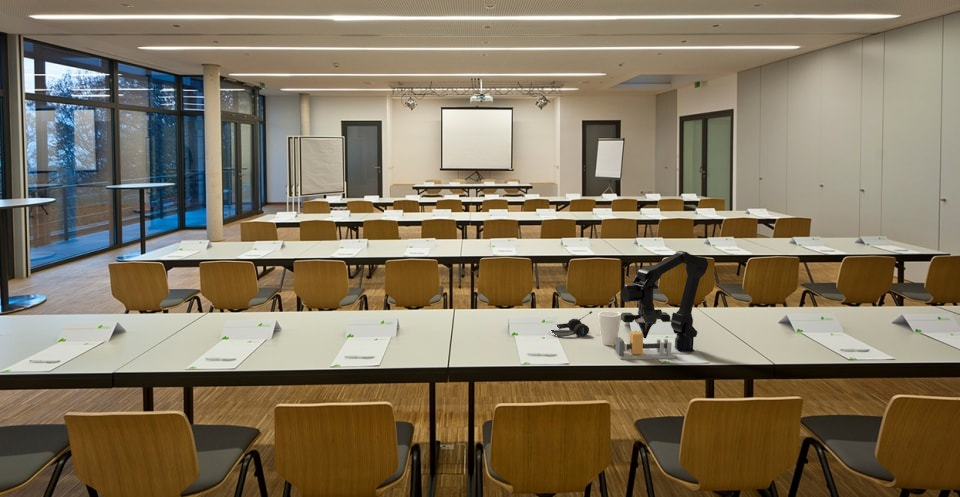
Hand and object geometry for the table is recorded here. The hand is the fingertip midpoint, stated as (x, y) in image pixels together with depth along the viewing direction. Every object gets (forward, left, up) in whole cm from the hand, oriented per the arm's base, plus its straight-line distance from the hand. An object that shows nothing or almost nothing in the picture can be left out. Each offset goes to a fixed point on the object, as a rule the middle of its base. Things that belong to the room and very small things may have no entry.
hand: (644, 338), depth 290 cm
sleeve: (+3, 0, -6) cm, 7 cm away
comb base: (0, 0, -7) cm, 7 cm away
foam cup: (+10, -18, -7) cm, 22 cm away
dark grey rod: (0, 0, -5) cm, 5 cm away
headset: (+23, -36, -8) cm, 44 cm away
